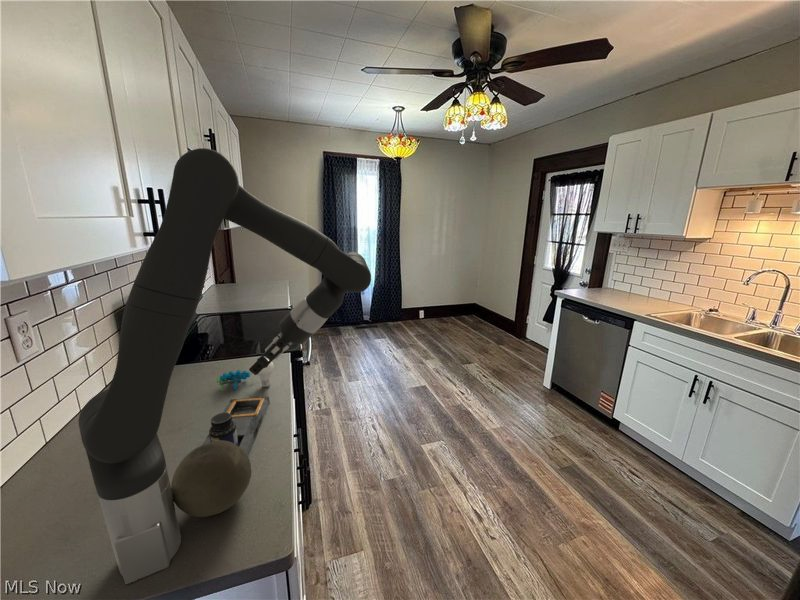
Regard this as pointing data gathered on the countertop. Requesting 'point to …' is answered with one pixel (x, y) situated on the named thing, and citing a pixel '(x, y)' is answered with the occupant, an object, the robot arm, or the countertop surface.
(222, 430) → the pill bottle
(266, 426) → the countertop surface
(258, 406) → the grey rectangular tray
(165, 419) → the countertop surface
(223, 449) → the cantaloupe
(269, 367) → the lightbulb
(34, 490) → the countertop surface
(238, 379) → the blue branched piece
